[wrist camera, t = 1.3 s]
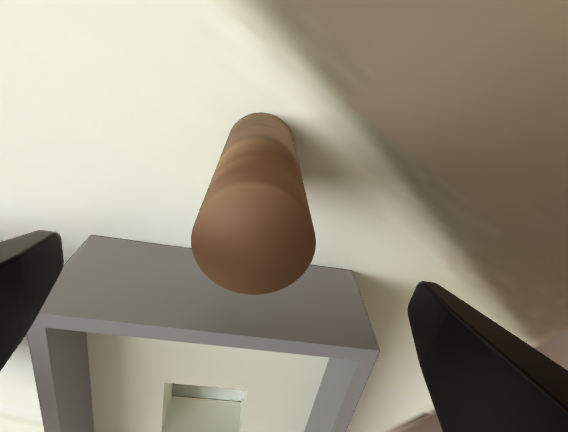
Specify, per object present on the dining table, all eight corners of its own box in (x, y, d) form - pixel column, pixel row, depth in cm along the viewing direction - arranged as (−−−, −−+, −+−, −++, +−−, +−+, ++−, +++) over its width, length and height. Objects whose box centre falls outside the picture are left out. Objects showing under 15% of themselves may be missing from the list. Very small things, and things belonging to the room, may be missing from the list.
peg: (224, 171, 20) (186, 287, 11) (231, 106, 18) (196, 178, 9) (286, 181, 20) (301, 301, 11) (299, 119, 18) (328, 199, 10)
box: (104, 453, 31) (66, 551, 25) (90, 235, 21) (23, 311, 15) (286, 466, 33) (290, 559, 27) (351, 270, 23) (379, 350, 17)
